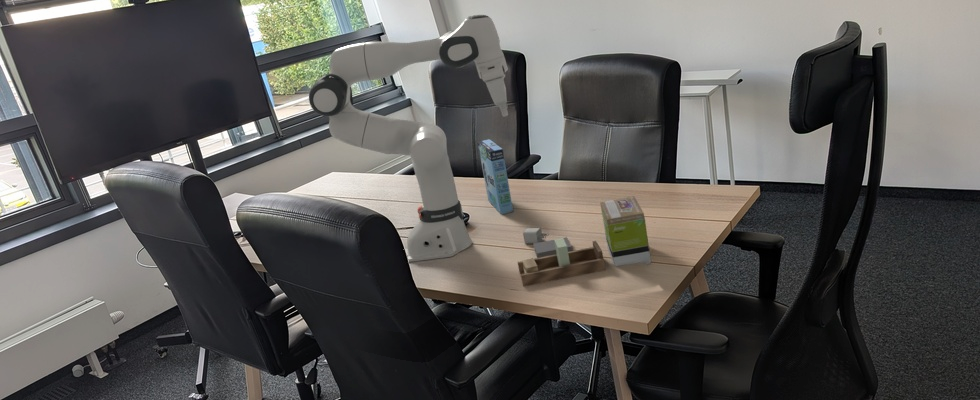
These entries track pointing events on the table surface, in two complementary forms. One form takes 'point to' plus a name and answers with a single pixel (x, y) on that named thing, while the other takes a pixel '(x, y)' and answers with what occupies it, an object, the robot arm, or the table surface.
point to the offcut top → (530, 265)
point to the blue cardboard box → (495, 176)
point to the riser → (549, 248)
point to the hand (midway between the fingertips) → (505, 112)
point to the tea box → (625, 231)
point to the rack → (550, 269)
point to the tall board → (562, 252)
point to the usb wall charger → (533, 235)
